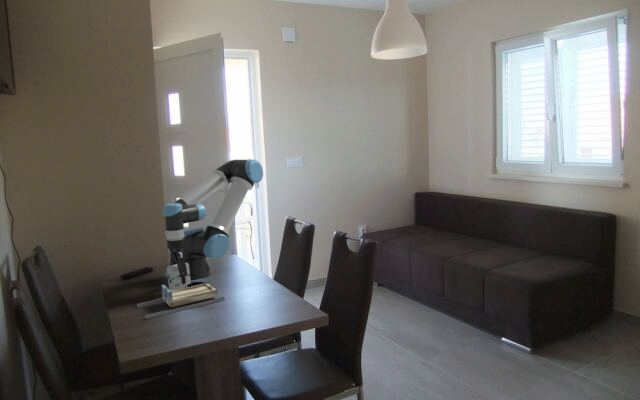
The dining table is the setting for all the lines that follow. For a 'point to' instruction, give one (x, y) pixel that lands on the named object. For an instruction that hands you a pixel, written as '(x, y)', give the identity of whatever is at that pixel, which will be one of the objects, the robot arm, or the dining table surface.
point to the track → (176, 308)
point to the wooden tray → (188, 294)
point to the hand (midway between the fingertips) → (180, 287)
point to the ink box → (176, 277)
